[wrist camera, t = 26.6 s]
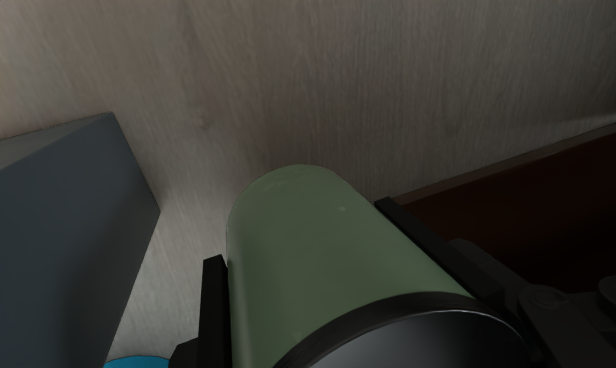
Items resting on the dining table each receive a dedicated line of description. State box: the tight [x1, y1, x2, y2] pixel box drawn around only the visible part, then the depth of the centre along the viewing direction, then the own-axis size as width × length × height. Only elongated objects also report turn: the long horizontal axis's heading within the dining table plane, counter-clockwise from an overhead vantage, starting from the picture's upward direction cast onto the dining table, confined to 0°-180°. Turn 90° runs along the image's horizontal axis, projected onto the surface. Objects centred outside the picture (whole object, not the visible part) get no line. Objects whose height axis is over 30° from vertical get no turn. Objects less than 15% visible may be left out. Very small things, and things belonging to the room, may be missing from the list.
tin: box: [226, 164, 532, 368], centre depth 12 cm, size 7×7×10 cm
